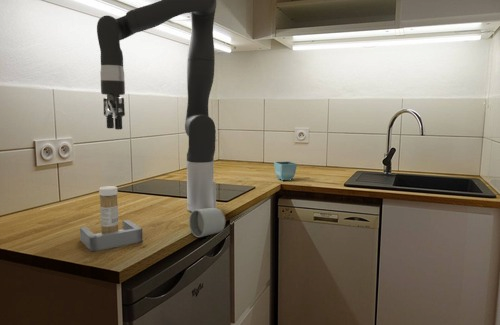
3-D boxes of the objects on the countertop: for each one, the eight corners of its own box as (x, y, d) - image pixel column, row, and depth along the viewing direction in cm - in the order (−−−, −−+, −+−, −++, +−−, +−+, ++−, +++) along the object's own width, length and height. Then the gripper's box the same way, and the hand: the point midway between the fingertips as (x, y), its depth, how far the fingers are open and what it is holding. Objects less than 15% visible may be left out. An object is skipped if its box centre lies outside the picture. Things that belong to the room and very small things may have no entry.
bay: (128, 231, 111) (128, 219, 111) (142, 241, 103) (142, 228, 102) (80, 240, 103) (79, 227, 103) (91, 251, 95) (90, 238, 94)
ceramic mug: (227, 234, 110) (227, 207, 109) (204, 240, 104) (203, 212, 103) (205, 226, 118) (205, 201, 117) (182, 231, 112) (182, 205, 111)
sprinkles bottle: (114, 232, 107) (112, 184, 105) (122, 236, 104) (120, 187, 102) (97, 236, 103) (95, 187, 102) (106, 240, 100) (104, 189, 99)
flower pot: (296, 181, 193) (297, 163, 192) (280, 182, 190) (281, 164, 189) (288, 178, 201) (289, 161, 200) (273, 179, 198) (273, 161, 197)
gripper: (131, 79, 126) (132, 129, 128) (116, 81, 137) (118, 127, 139) (108, 78, 121) (109, 130, 123) (94, 80, 132) (96, 128, 134)
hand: (114, 128), depth 131 cm, fingers open, 8 cm apart
